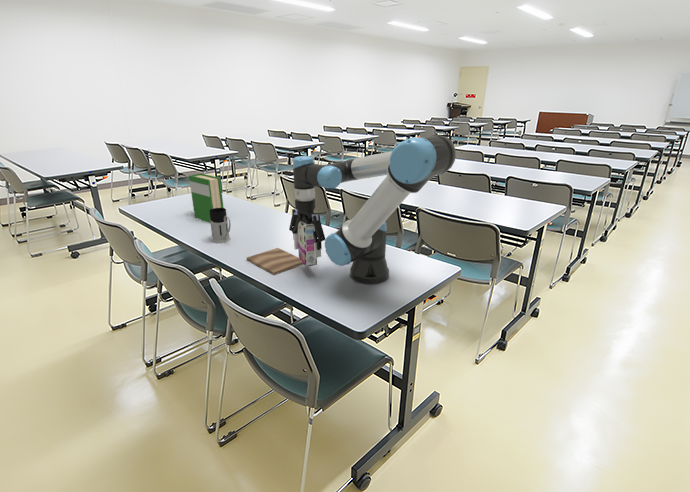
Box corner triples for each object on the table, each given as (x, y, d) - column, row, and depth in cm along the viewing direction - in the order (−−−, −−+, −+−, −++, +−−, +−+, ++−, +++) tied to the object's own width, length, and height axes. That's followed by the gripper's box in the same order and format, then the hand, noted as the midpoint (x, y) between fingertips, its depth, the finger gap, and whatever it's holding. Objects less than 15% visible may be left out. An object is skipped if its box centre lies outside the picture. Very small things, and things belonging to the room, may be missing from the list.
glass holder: (224, 235, 193) (221, 206, 187) (240, 242, 184) (237, 212, 178) (208, 239, 187) (204, 210, 181) (223, 247, 178) (220, 216, 172)
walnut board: (305, 263, 162) (305, 260, 162) (273, 275, 152) (273, 272, 151) (277, 250, 175) (277, 247, 175) (246, 260, 165) (246, 257, 164)
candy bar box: (318, 265, 149) (316, 224, 144) (305, 267, 148) (303, 226, 142) (310, 255, 159) (308, 216, 153) (298, 256, 158) (296, 218, 152)
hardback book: (225, 220, 215) (220, 177, 206) (213, 223, 209) (207, 179, 200) (206, 214, 225) (200, 173, 216) (194, 217, 219) (188, 175, 210)
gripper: (277, 195, 150) (281, 247, 158) (318, 206, 134) (320, 264, 142) (293, 192, 155) (296, 242, 163) (334, 202, 139) (335, 258, 147)
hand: (307, 252), depth 152 cm, fingers closed on candy bar box, 12 cm apart
